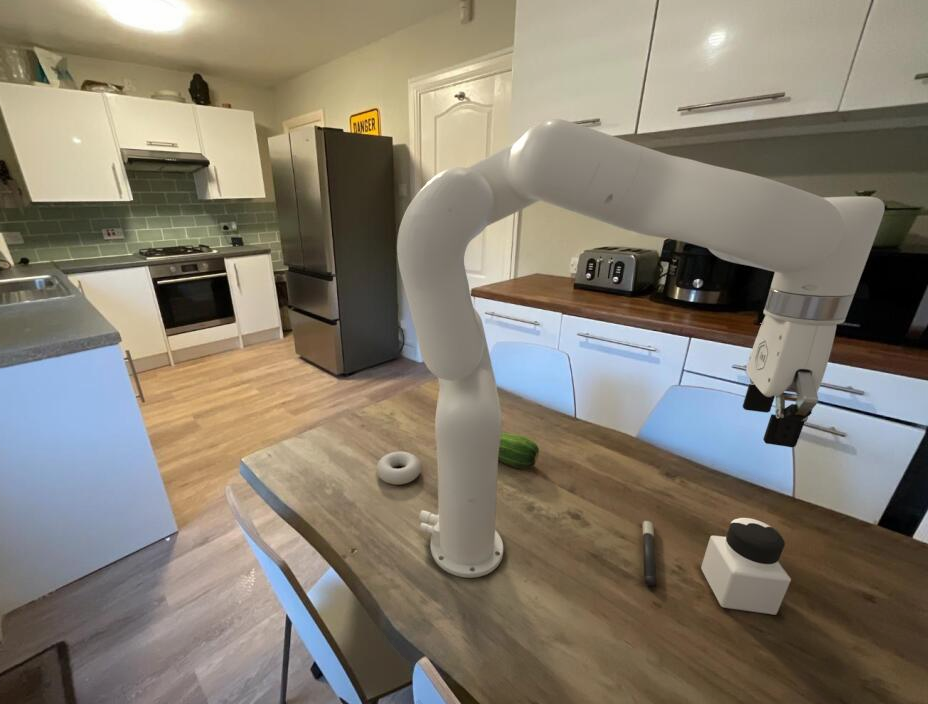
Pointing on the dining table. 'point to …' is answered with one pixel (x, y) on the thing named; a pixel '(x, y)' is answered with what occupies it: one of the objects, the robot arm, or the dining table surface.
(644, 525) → the marker
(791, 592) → the dining table surface
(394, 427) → the dining table surface
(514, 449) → the vegetable
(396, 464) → the donut
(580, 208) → the robot arm
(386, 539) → the dining table surface
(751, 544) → the white block black top
